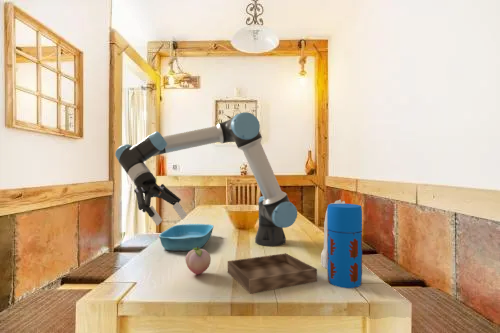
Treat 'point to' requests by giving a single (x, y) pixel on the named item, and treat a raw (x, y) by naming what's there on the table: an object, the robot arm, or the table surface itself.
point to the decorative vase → (324, 252)
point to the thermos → (344, 245)
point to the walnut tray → (271, 272)
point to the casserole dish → (186, 236)
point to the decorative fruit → (198, 260)
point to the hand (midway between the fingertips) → (172, 219)
